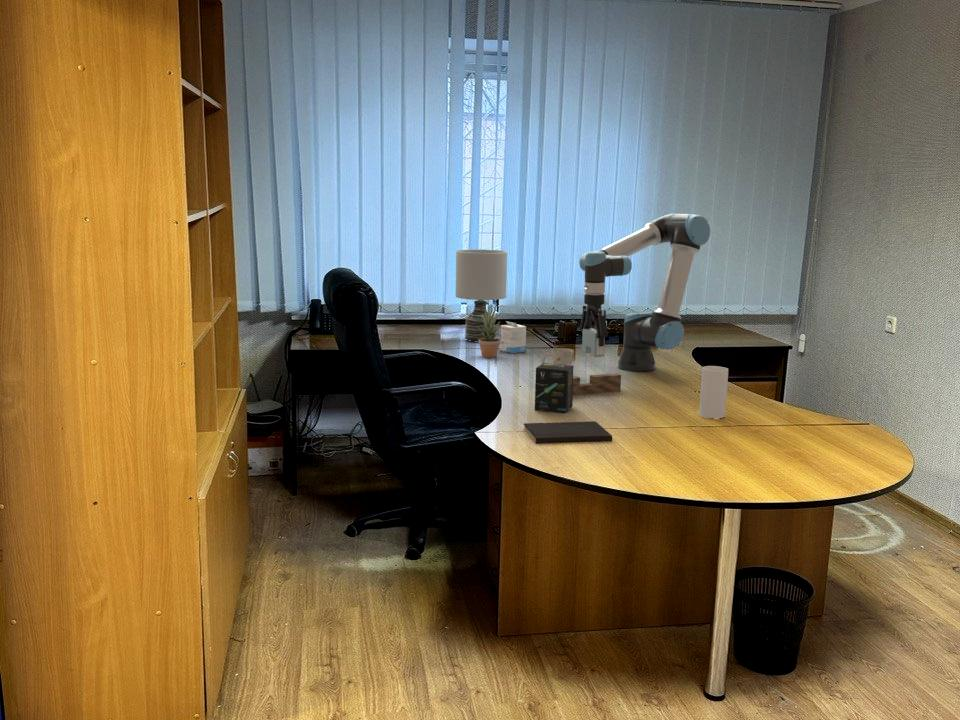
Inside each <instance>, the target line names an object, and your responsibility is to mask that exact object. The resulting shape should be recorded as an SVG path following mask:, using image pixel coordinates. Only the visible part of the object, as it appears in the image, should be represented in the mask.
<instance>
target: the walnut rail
mask: <svg viewBox="0 0 960 720" xmlns="http://www.w3.org/2000/svg"><path fill="white" fill-rule="evenodd" d="M621 385H622V375H621V374H620V373H617V372H616V373H605V374H604V373H602V374H590V375H589V382H586V383H581V377H580V376H578V375H573V396H574V395H585V394H598V393H599V394H600V393H601V394H602V393H613V392H621V387H622V386H621Z"/></svg>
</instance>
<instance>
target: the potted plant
mask: <svg viewBox="0 0 960 720" xmlns="http://www.w3.org/2000/svg"><path fill="white" fill-rule="evenodd" d="M489 301H490V300H487V312H488V317H487V314H486V311H485V315H486V319H485V317H484V316H483V317H484V319H483V322H484V326H485V328H486V329H484V328H483V329H484V331H485V332H483V331H482V330H481V329H480V328H479V327H478V328H479V329H480V330H481V331H482V332H483V333H482V332H481V333H482V335H483V336H484V337H485V338H484V337H483V338H482V339H479V340H478V342H477V343H478V344H479V348H480V352H481V353H480V354H481V356H482V357H483V356H484V357H483V358H495V356H497V354H498V351H499V346H500V345H501V339H500V338H496V337H497V336H498V334H499V331H498V330H499V329H500V328H501V325H499V324H500V323H501V321H498V323H496V321H497V319H498V316H499V313H496V309H497V304H498V303H497V302H496V303H495V305H494V308H493V311H492V312H490V302H489ZM495 314H496V316H495ZM490 315H491V316H492V317H491V316H490ZM495 323H496V324H495ZM494 324H495V326H494ZM493 326H494V327H493Z"/></svg>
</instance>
